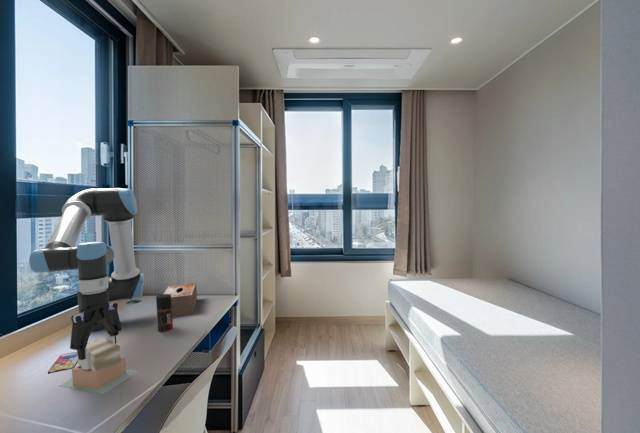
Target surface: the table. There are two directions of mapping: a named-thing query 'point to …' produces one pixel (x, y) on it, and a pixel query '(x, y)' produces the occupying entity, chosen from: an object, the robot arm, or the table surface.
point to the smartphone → (64, 362)
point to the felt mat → (106, 387)
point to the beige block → (102, 354)
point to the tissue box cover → (182, 298)
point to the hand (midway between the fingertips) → (99, 361)
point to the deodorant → (164, 312)
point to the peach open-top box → (97, 375)
